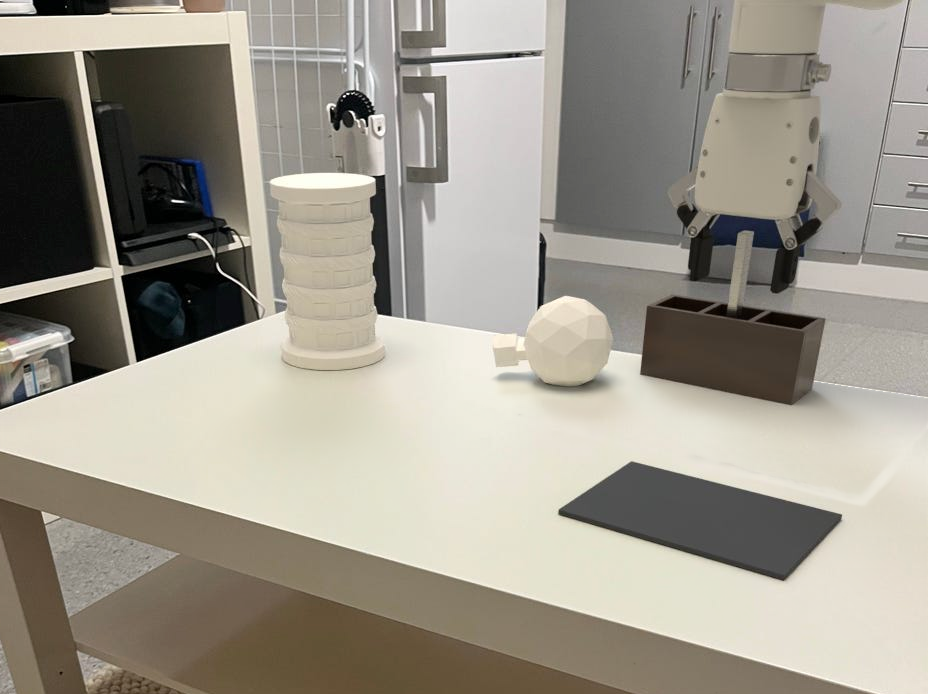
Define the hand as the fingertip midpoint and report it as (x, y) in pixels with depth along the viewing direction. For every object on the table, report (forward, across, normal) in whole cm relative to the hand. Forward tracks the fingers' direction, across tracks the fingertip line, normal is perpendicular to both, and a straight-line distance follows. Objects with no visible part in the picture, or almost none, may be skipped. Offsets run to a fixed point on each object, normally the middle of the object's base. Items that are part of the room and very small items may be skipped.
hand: (738, 283), depth 98 cm
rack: (+10, 0, 0) cm, 10 cm away
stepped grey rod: (+10, 0, 0) cm, 10 cm away
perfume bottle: (+10, +15, +9) cm, 20 cm away
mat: (+10, -11, +30) cm, 34 cm away
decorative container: (+10, +40, +15) cm, 44 cm away
